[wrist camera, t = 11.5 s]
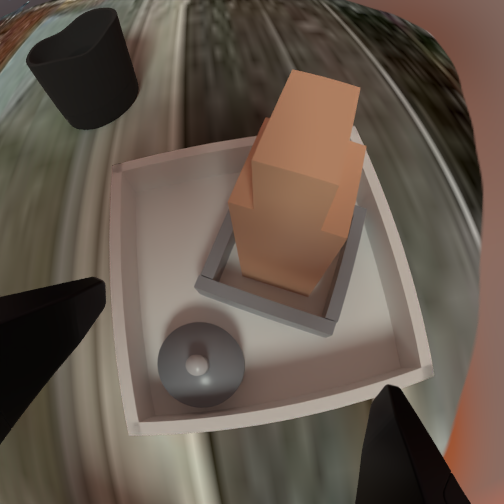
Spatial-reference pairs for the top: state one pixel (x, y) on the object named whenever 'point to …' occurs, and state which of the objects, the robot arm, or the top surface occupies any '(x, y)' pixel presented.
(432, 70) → the top surface
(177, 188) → the tray
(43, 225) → the top surface
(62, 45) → the pen holder
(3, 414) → the robot arm
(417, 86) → the top surface
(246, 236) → the post
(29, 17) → the top surface
